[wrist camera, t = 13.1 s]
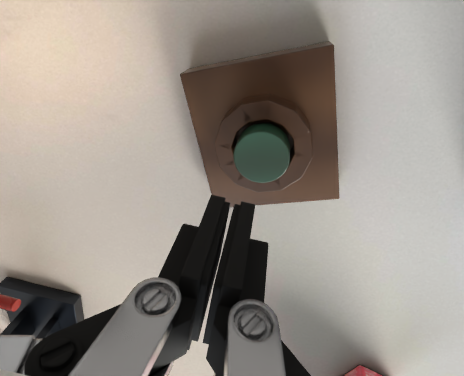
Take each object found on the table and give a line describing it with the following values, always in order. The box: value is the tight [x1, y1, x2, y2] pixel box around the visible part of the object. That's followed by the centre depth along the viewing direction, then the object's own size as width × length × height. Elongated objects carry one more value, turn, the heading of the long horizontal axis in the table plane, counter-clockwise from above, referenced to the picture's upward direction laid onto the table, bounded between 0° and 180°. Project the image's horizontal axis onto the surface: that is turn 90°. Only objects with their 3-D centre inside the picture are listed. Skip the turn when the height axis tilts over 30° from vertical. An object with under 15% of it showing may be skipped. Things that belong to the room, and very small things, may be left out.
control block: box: [180, 41, 339, 207], centre depth 22 cm, size 11×10×4 cm
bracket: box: [0, 277, 84, 339], centre depth 36 cm, size 12×10×14 cm
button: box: [233, 123, 290, 183], centre depth 20 cm, size 4×4×2 cm
